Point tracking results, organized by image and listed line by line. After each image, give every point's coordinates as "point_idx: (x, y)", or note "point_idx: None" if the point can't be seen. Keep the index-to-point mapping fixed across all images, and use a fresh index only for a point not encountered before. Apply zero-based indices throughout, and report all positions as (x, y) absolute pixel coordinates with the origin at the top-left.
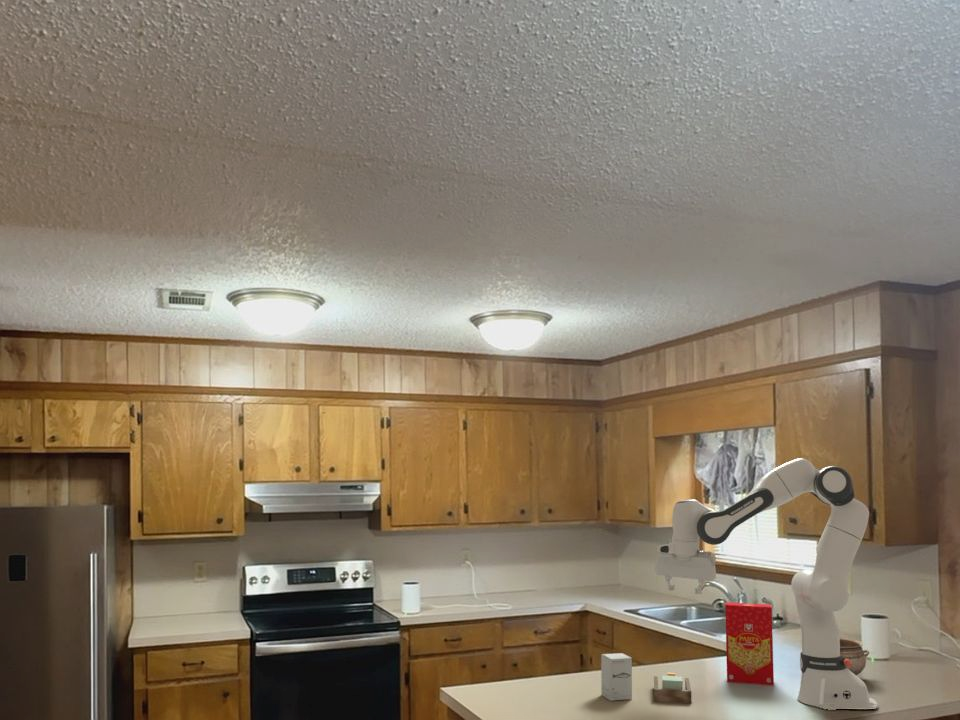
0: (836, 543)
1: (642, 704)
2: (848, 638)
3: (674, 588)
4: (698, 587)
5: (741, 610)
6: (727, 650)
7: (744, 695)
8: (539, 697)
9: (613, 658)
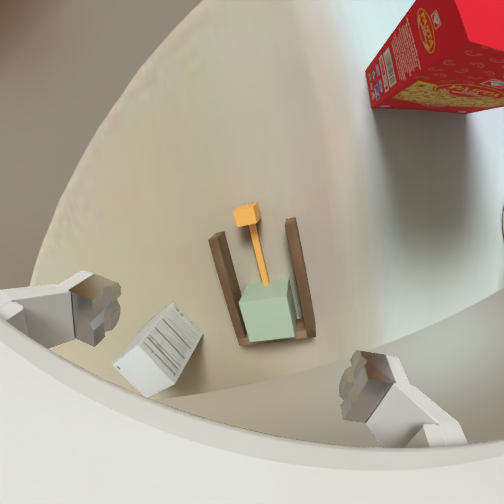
0: None
1: (229, 354)
2: None
3: (112, 283)
4: (375, 433)
5: None
6: (397, 91)
7: (418, 221)
8: (91, 351)
9: (147, 394)
